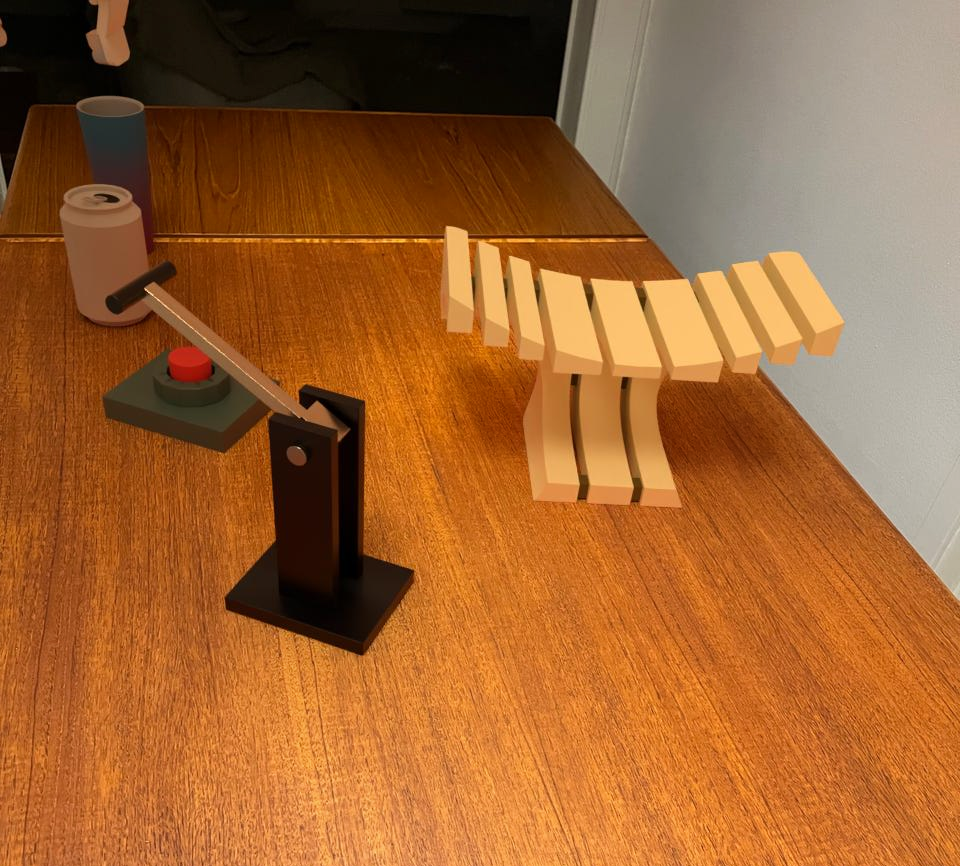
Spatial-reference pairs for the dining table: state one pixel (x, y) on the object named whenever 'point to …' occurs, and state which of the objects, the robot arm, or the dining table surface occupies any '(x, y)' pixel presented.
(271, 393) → the lever
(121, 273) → the can
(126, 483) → the dining table surface
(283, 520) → the bracket
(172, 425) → the box
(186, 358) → the button
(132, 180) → the cup
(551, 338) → the slatted curved stool
